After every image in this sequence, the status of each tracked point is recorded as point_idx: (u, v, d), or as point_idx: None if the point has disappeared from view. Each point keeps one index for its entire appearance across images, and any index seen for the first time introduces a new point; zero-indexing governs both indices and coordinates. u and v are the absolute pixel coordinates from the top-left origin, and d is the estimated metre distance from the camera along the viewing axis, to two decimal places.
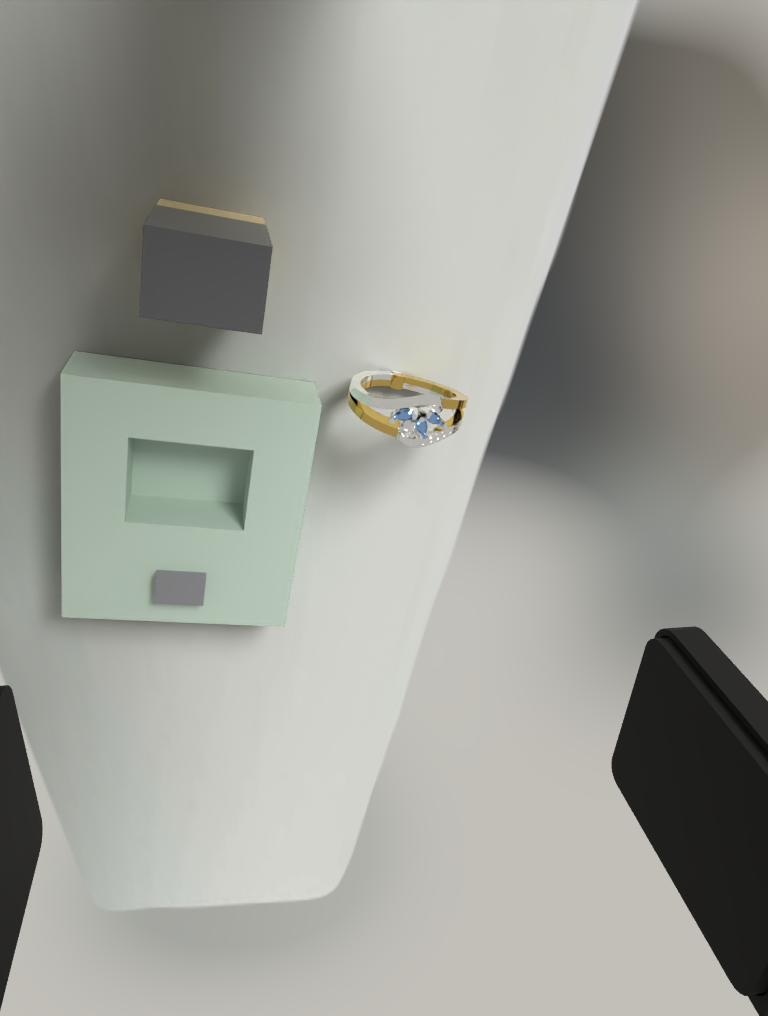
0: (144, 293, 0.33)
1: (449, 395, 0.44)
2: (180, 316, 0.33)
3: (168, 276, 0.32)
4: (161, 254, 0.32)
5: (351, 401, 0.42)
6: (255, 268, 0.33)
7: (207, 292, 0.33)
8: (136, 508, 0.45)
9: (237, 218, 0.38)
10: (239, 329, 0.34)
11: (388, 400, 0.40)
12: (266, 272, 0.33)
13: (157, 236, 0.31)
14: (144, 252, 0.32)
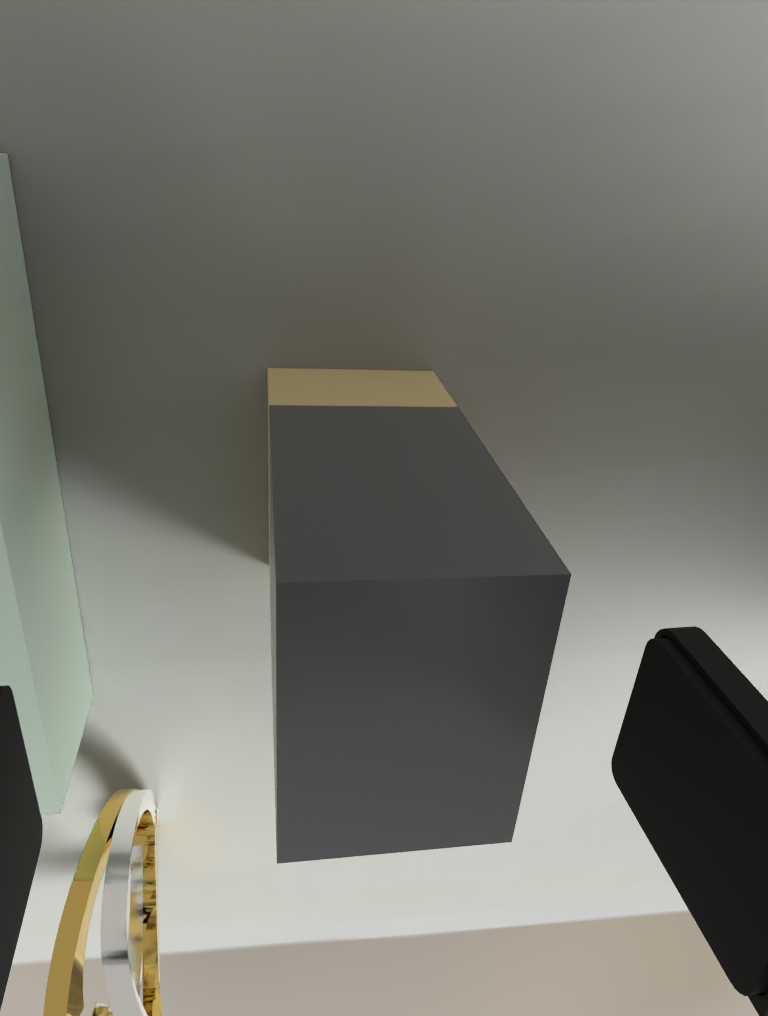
0: (359, 591, 0.10)
1: (148, 958, 0.22)
2: (296, 686, 0.10)
3: (420, 647, 0.10)
4: (483, 624, 0.10)
5: (91, 868, 0.18)
6: (455, 822, 0.12)
7: (379, 739, 0.11)
8: None
9: None
10: (281, 818, 0.11)
11: (132, 1001, 0.17)
12: (447, 842, 0.12)
13: (536, 610, 0.10)
14: (489, 582, 0.10)
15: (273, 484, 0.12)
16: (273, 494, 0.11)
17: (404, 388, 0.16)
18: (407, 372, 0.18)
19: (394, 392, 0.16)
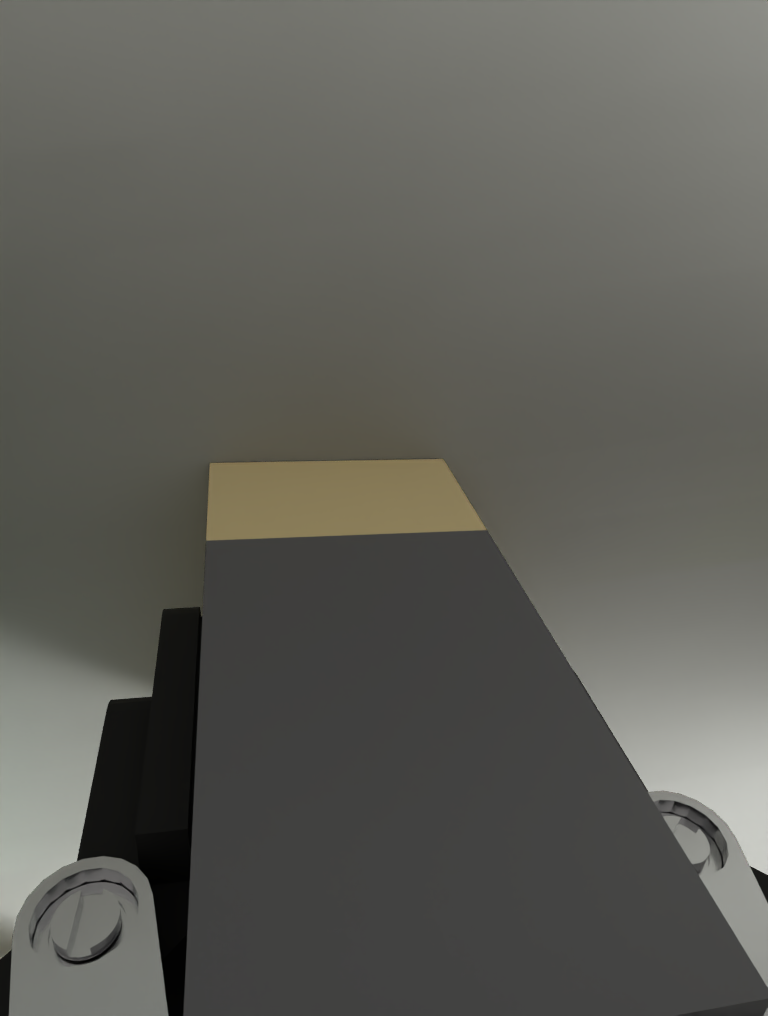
0: None
1: None
2: None
3: None
4: None
5: None
6: None
7: None
8: None
9: None
10: None
11: None
12: None
13: None
14: None
15: (198, 744, 0.07)
16: (196, 774, 0.06)
17: (406, 495, 0.11)
18: (407, 462, 0.13)
19: (391, 503, 0.11)
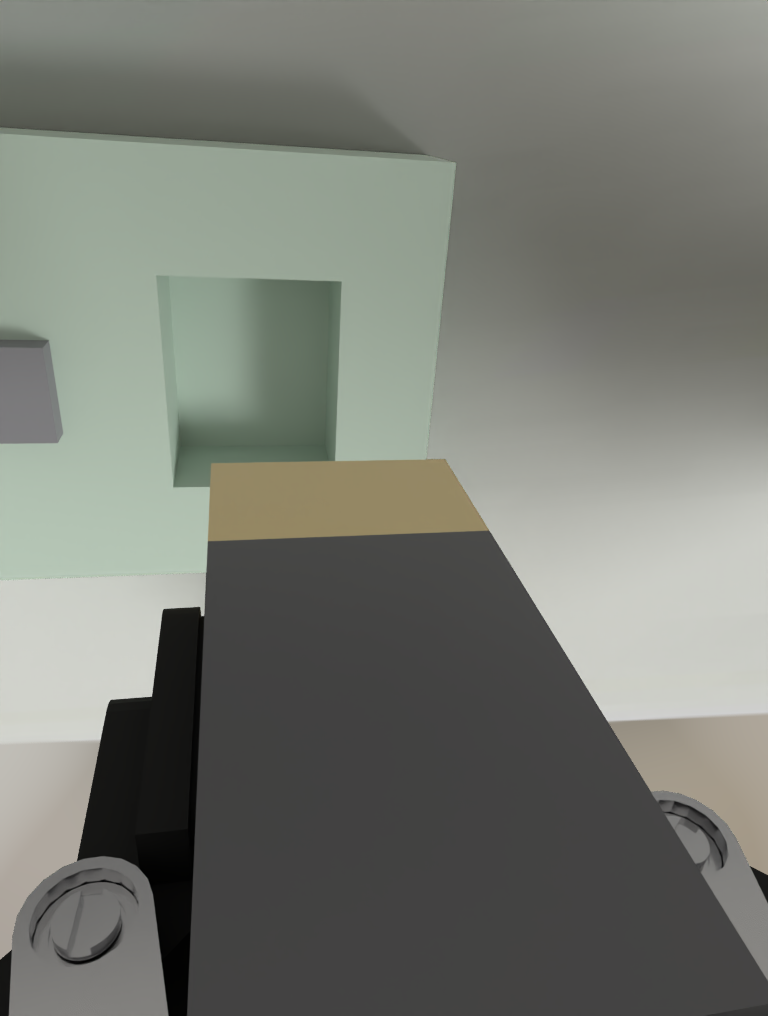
0: None
1: None
2: None
3: None
4: None
5: None
6: None
7: None
8: (163, 280, 0.23)
9: None
10: None
11: None
12: None
13: None
14: None
15: (201, 746, 0.07)
16: (199, 776, 0.06)
17: (408, 495, 0.11)
18: (409, 462, 0.13)
19: (393, 504, 0.11)
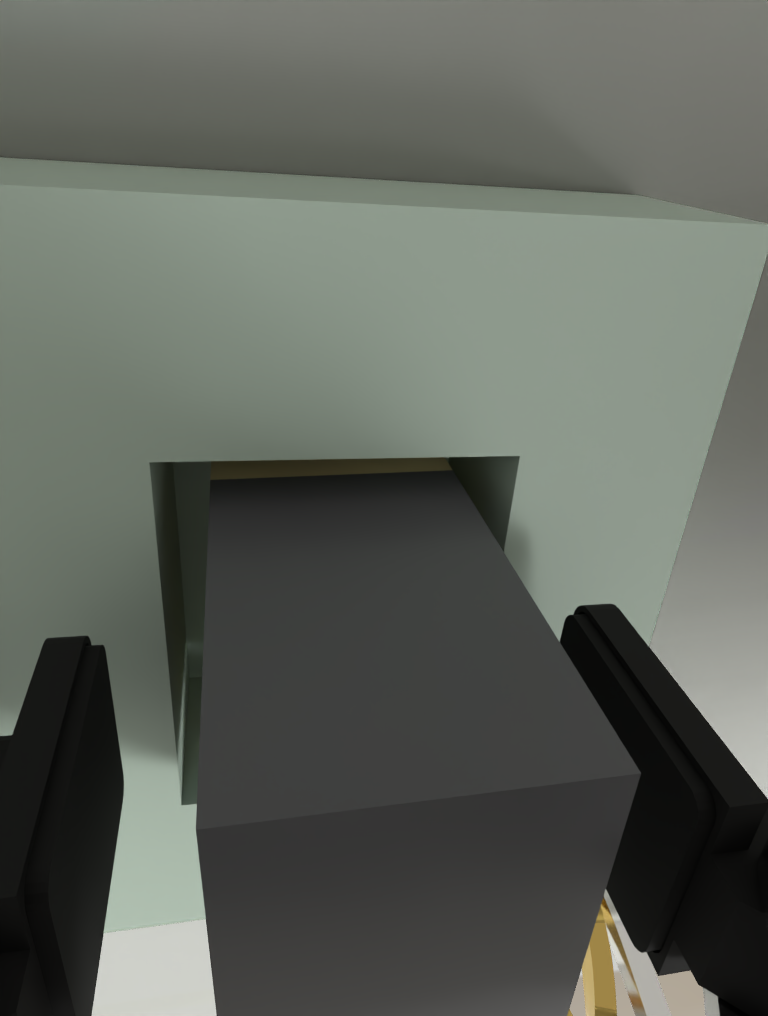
0: (326, 826, 0.06)
1: None
2: (241, 950, 0.07)
3: (421, 883, 0.07)
4: (512, 846, 0.07)
5: (599, 921, 0.17)
6: None
7: (366, 993, 0.08)
8: None
9: None
10: None
11: None
12: None
13: (589, 821, 0.07)
14: (522, 795, 0.07)
15: (206, 620, 0.08)
16: (205, 639, 0.08)
17: None
18: None
19: None
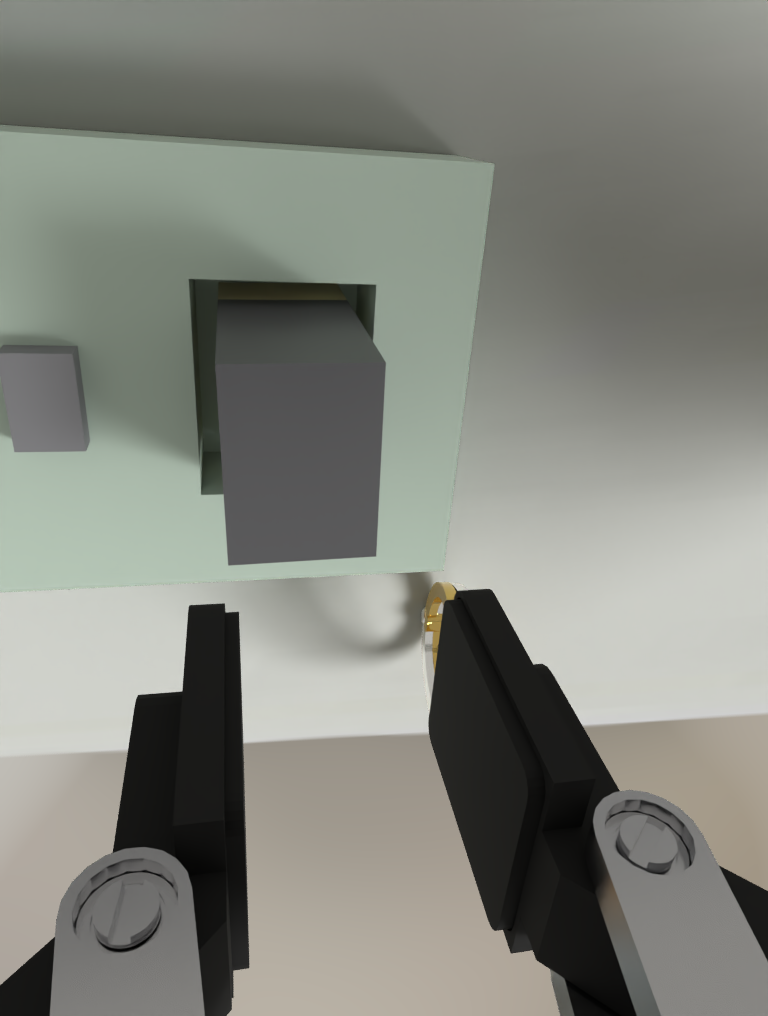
0: (263, 370, 0.17)
1: None
2: (231, 434, 0.18)
3: (302, 409, 0.18)
4: (338, 394, 0.18)
5: None
6: (337, 538, 0.20)
7: (284, 473, 0.18)
8: (192, 283, 0.23)
9: None
10: (229, 531, 0.19)
11: None
12: (335, 555, 0.20)
13: (368, 386, 0.18)
14: (338, 366, 0.17)
15: (217, 331, 0.19)
16: (216, 335, 0.19)
17: (313, 291, 0.24)
18: (318, 284, 0.25)
19: (305, 293, 0.24)
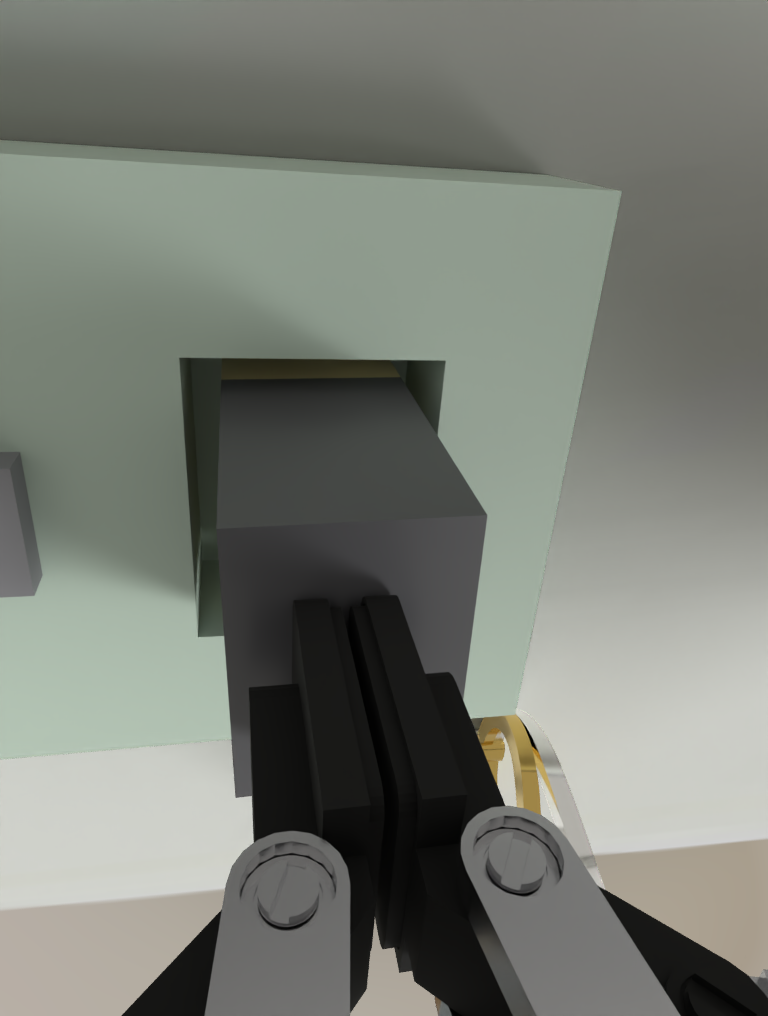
0: (293, 535, 0.11)
1: None
2: (242, 627, 0.11)
3: (354, 587, 0.11)
4: (410, 563, 0.11)
5: (530, 761, 0.22)
6: None
7: None
8: None
9: None
10: (237, 754, 0.12)
11: (592, 862, 0.20)
12: None
13: (458, 549, 0.11)
14: (413, 524, 0.11)
15: (220, 447, 0.13)
16: (219, 456, 0.12)
17: (351, 362, 0.17)
18: None
19: (341, 365, 0.17)
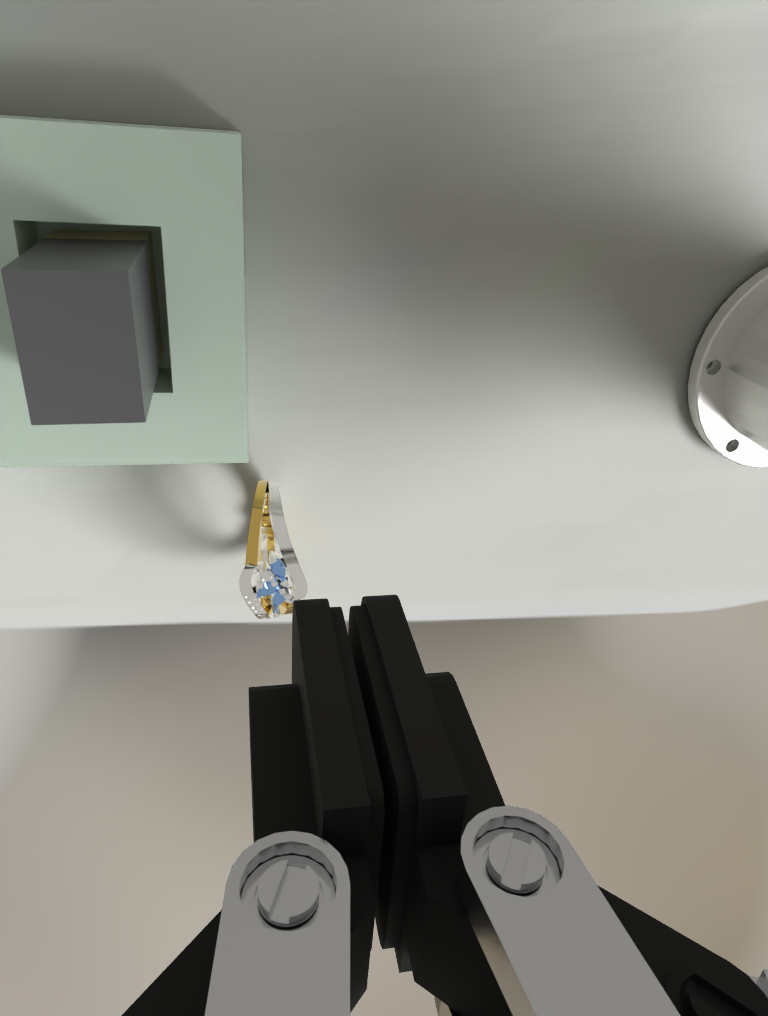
0: (36, 275, 0.24)
1: None
2: (20, 323, 0.25)
3: (70, 305, 0.25)
4: (95, 294, 0.25)
5: (262, 495, 0.35)
6: (113, 407, 0.27)
7: (64, 354, 0.26)
8: (25, 227, 0.30)
9: (156, 334, 0.33)
10: (28, 398, 0.26)
11: (290, 546, 0.34)
12: (113, 420, 0.27)
13: (117, 288, 0.25)
14: (92, 273, 0.25)
15: (22, 254, 0.26)
16: (19, 256, 0.26)
17: (125, 235, 0.31)
18: (135, 231, 0.32)
19: (117, 236, 0.31)
